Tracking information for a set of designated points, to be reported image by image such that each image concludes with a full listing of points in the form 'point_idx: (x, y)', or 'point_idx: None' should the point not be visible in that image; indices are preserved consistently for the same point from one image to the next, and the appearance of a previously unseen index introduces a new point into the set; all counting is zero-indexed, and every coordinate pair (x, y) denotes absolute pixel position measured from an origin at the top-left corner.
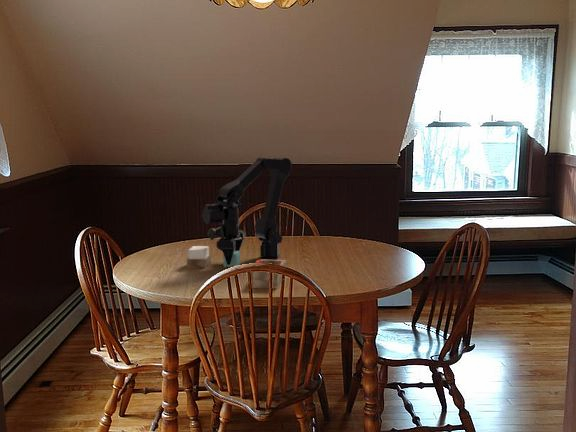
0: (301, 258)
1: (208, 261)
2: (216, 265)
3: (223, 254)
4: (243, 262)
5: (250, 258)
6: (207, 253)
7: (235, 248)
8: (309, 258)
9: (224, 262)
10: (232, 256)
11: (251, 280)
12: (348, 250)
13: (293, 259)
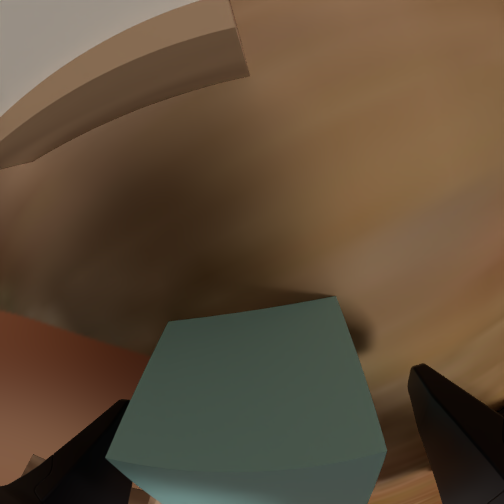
0: (433, 492)
1: (99, 107)
2: (173, 213)
3: (111, 449)
4: (380, 406)
5: (488, 380)
6: (36, 35)
7: (457, 478)
8: (428, 499)
9: (157, 364)
10: (116, 499)
11: (27, 471)
12: None
13: (424, 491)
